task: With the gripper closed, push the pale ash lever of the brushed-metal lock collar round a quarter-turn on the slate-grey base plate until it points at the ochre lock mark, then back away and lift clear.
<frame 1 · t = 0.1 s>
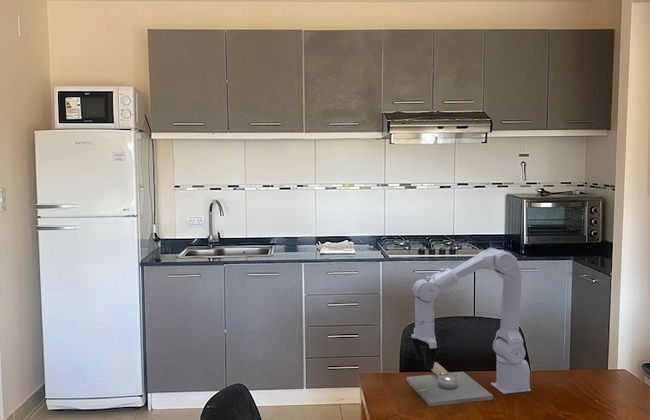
hand: (424, 364, 165), 10 cm above the table, tool pointing down, fingers open, 7 cm apart
coupling: (442, 375, 174), point 3 cm above the table, hinge at 0.0°
lock plate: (447, 389, 170), on the table
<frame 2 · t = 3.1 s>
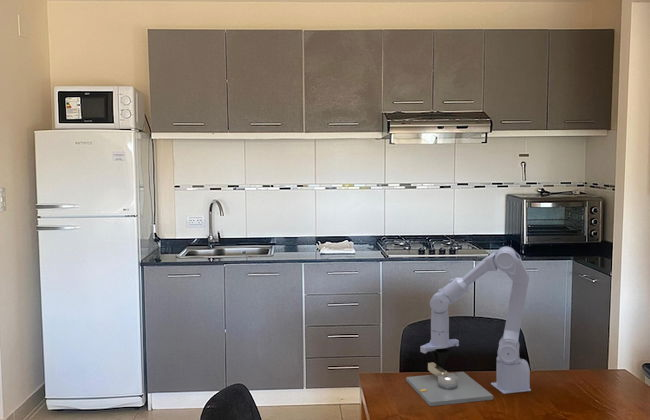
hand: (439, 370, 178), 3 cm above the table, tool pointing down, fingers closed
coupling: (441, 375, 174), point 3 cm above the table, hinge at 5.8°, touching gripper
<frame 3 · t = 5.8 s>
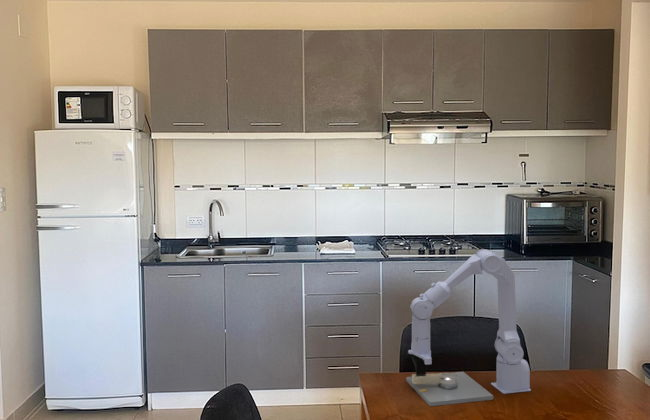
hand: (420, 379, 172), 3 cm above the table, tool pointing down, fingers closed, pressing on coupling
coupling: (434, 380, 170), point 3 cm above the table, hinge at 80.5°, touching gripper
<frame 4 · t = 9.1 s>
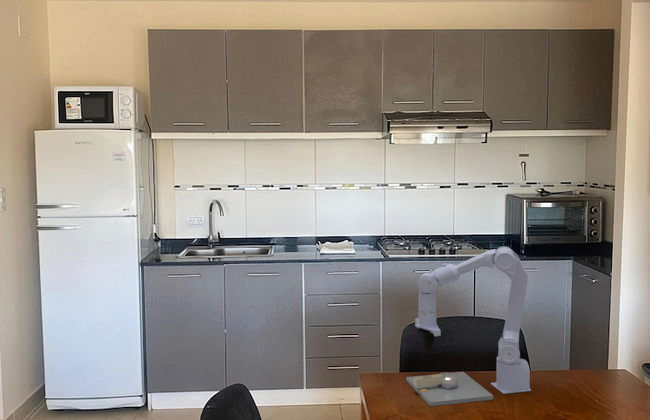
hand: (427, 351, 178), 9 cm above the table, tool pointing down, fingers closed
coupling: (435, 381, 169), point 3 cm above the table, hinge at 93.6°
at the end: coupling at +94° (first picture: +0°); the gripper is holding nothing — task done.
